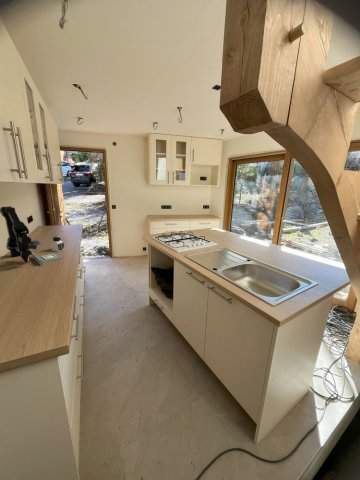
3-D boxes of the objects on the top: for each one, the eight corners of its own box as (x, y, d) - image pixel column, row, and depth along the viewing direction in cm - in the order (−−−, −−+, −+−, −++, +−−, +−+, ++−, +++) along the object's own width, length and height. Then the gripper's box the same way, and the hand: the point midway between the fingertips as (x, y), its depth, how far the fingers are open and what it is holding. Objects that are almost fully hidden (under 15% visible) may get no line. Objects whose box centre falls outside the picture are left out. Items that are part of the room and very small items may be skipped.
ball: (20, 262, 154) (19, 256, 153) (28, 260, 158) (27, 254, 156) (22, 264, 151) (21, 258, 150) (30, 262, 155) (29, 256, 153)
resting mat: (36, 257, 166) (36, 255, 166) (55, 253, 176) (55, 252, 176) (42, 262, 156) (42, 261, 155) (62, 258, 166) (62, 256, 166)
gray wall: (31, 256, 166) (30, 252, 165) (33, 256, 167) (32, 251, 166) (40, 265, 151) (39, 260, 150) (42, 264, 152) (42, 259, 151)
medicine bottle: (58, 251, 181) (57, 238, 178) (51, 250, 183) (50, 237, 180) (64, 248, 188) (63, 236, 185) (57, 248, 190) (56, 235, 186)
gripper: (38, 242, 150) (41, 262, 154) (31, 237, 162) (34, 255, 166) (19, 245, 142) (23, 266, 146) (13, 239, 154) (17, 258, 158)
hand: (25, 261), depth 154 cm, fingers open, 6 cm apart
